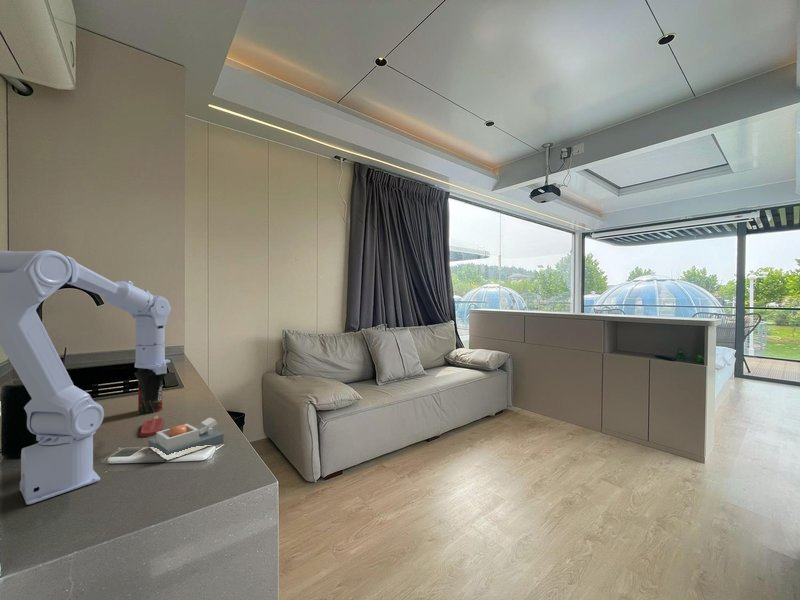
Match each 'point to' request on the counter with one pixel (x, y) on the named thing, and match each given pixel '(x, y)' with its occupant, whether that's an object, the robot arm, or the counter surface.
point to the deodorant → (150, 405)
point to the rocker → (206, 425)
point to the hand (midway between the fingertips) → (150, 399)
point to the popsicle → (152, 427)
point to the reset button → (177, 430)
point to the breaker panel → (184, 439)
